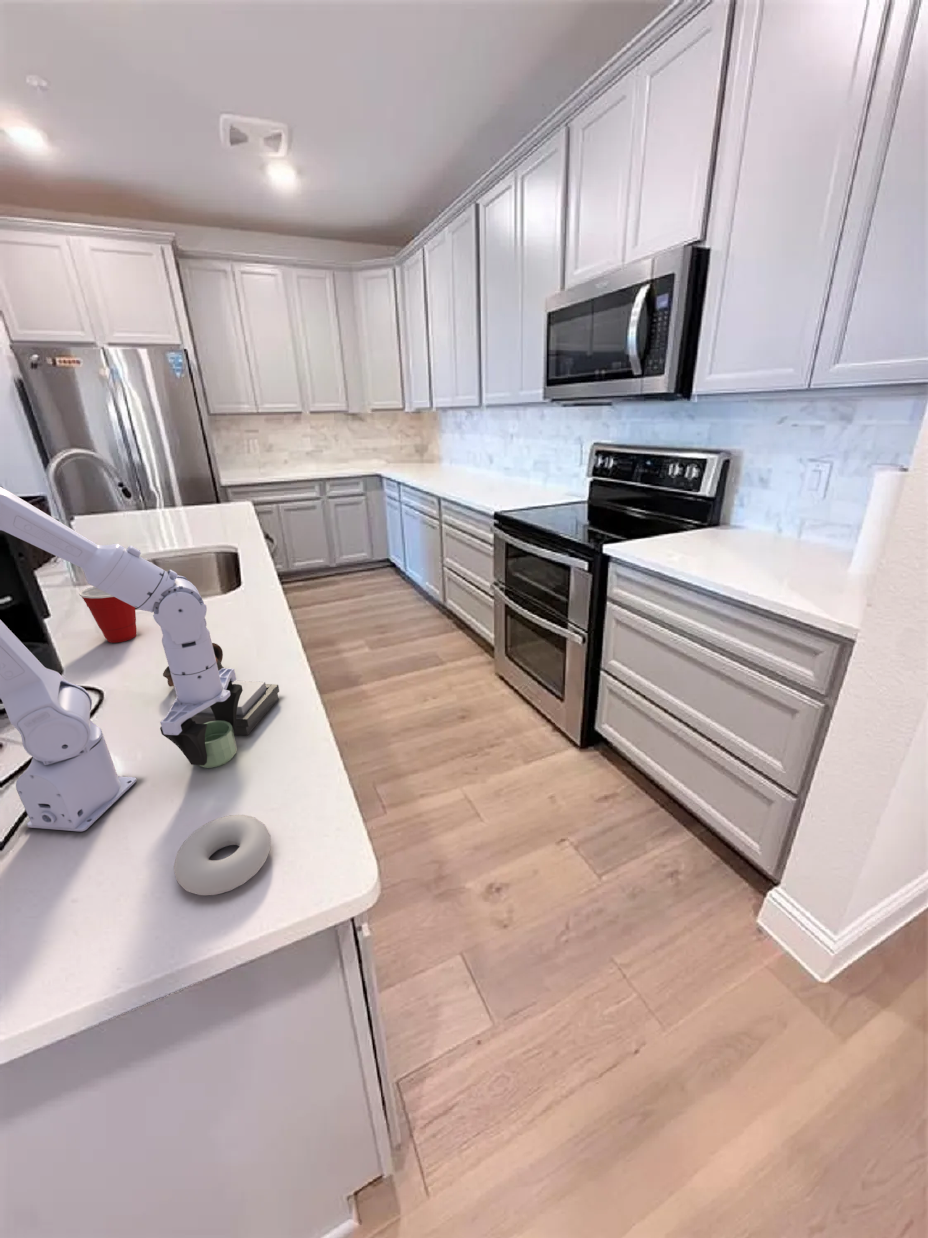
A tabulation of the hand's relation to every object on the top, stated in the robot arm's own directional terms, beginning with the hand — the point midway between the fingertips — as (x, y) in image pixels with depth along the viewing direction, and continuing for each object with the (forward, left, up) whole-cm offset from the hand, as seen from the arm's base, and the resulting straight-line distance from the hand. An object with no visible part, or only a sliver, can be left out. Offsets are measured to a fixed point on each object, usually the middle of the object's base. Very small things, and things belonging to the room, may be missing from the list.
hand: (214, 746), depth 75 cm
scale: (+11, +3, -2) cm, 12 cm away
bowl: (0, 0, -2) cm, 2 cm away
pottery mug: (+21, +15, -2) cm, 26 cm away
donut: (-18, -12, -2) cm, 22 cm away
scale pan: (+11, +3, +1) cm, 11 cm away
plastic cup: (+39, +46, -2) cm, 60 cm away
